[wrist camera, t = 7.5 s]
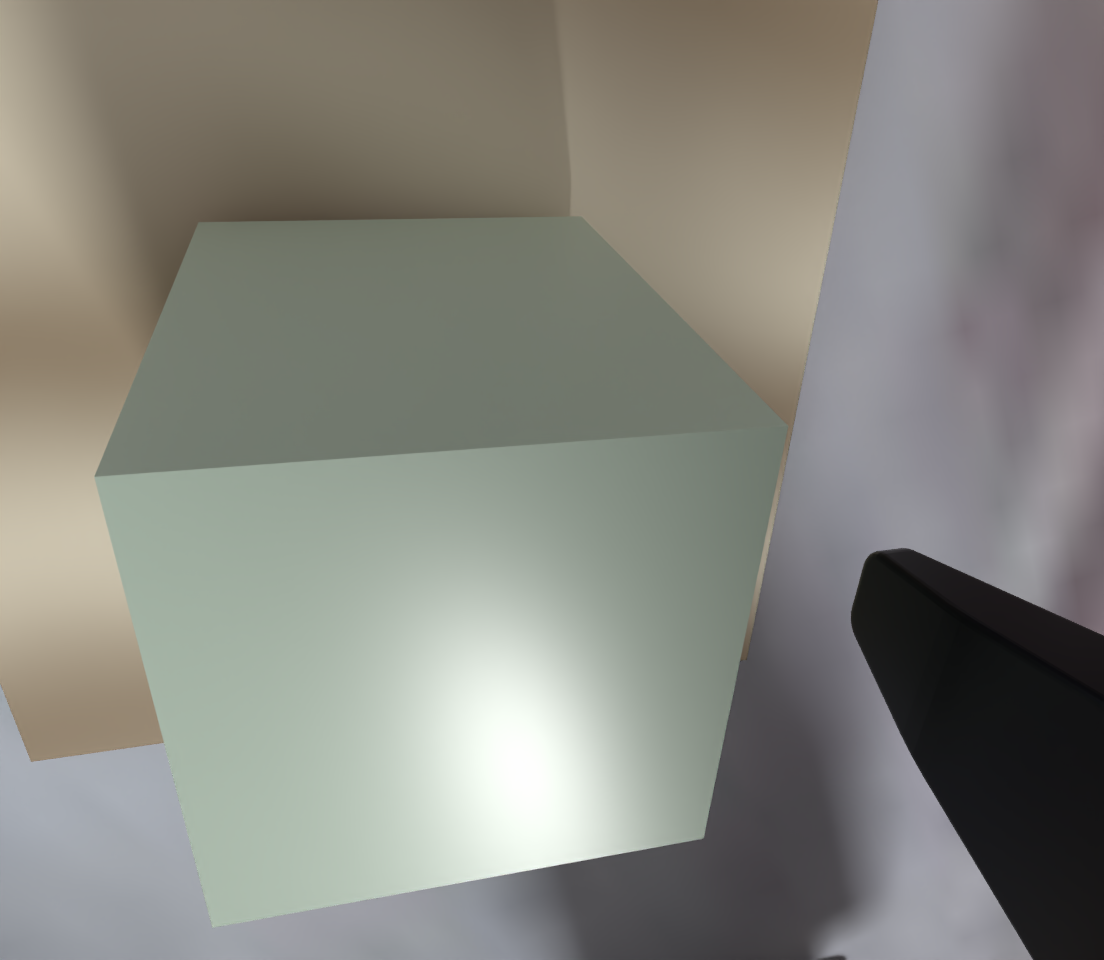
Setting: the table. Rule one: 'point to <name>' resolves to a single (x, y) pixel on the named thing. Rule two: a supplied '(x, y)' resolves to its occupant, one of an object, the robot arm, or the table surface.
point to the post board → (363, 194)
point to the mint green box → (432, 554)
